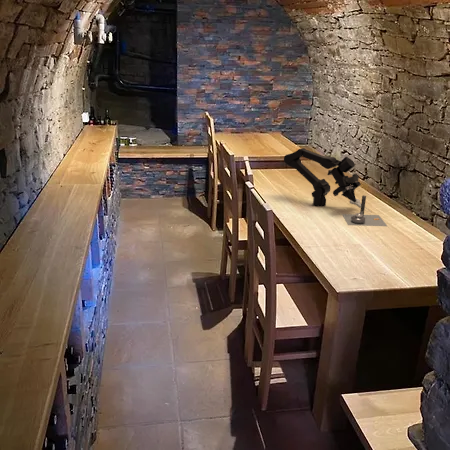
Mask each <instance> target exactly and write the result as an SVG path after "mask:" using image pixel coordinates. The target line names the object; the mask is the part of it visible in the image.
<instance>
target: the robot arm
mask: <svg viewBox="0 0 450 450" xmlns="http://www.w3.org/2000/svg"><path fill="white" fill-rule="evenodd" d="M301 158H305V159H308V160H310V161H312V162H315V163H317V164H319V165H320V166H321V167H323V168H324V169H325V170H327V173H326V175H327V176H330V175H331V176H332V177H333V179H334V180H335V182H334V183H335V185H338V187H336V188H335V189H334V190H333V191H332V194H333V196H334V197H337V196H339V194H340V193H342V194H341V196H343V197H345V198H347V199H348V200H349V201H350V200H351V201H353V202H356V199H357V198H356V195H355V190H356V189H357V188H359V187H360V186H361V182H360V181H359V179H360V176H359V175H358V174H357V173H353V174H351V175H352V176H348V175H345V174H346V173H348V172H349V171H350V170H352V169H354V168H355V166H356V165H355V162H354V161H353V159H351V158H349V157H348V156H345V157H343V159H342V160H339V159H337V158H336V157H334V156H330V155H322V154H319V153H317V152H314V151H310V150H308V149H306V148H305V147H303V148H299V149H297V150H296V151H294V152H292V153H288V154H285V155H284V157H283V162H284V164H285V165H287V166H288V167H290V168H293V169H295V170H296V171H297V172H298V173H299V174H300V175H302V177H304V178H305V180H306V181H308V182H309V183H310V184H311V185H312V187H313V188H312V189H313V190H314V191H312V192H311V196H312V198H313V199H312V203H311V206H312V207H326V205H327V197H326V196H327V195H328V194H329V193H330V192H331V185H330V182H328V181H327V180H326V179H325V178H322V179H319V178H318V176H316V175H315V174H314V173H313V172H312V171H311V170H310V169H309V168H308V167H307V166H306V165H304V164H303V162H302V161H301Z"/></svg>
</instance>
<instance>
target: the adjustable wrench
mask: <svg viewBox="0 0 450 450" xmlns="http://www.w3.org/2000/svg"><path fill="white" fill-rule="evenodd" d="M349 204H351V205H355V206H357V207H358V208H360V209H361V199H358V198H356V202H353V201H351V200H350V199H349ZM366 209H367V210H368V212H369V213H372V211H371V210H370V209H369V208H367V207H366V206H365V209H364V212H367V210H366Z"/></svg>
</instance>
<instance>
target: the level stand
mask: <svg viewBox="0 0 450 450" xmlns="http://www.w3.org/2000/svg"><path fill="white" fill-rule="evenodd" d="M355 214H356V213H355ZM355 214H354V213H351V214H350V213H341V216H342V217H343V219H344V221H345V223H346V225H347V226H364V227H388V225H387V224H386V222H385V221H384V220H383V218H382V217H381V216H380V214H364V216H363V217H365V223H363V224H356V223H353V222H351V217H352V216H355Z"/></svg>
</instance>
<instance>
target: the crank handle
mask: <svg viewBox="0 0 450 450" xmlns="http://www.w3.org/2000/svg"><path fill="white" fill-rule="evenodd" d="M366 199H367V195H365V194H364V195H362V196H361V201H360V203H361V208H360V211H359V212H356V213H355V216H352V217H351V222H353V223H356V224H363V223H365V217H363V216H364V215H365V210H366V208H365V207H366ZM364 209H365V210H364Z"/></svg>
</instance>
